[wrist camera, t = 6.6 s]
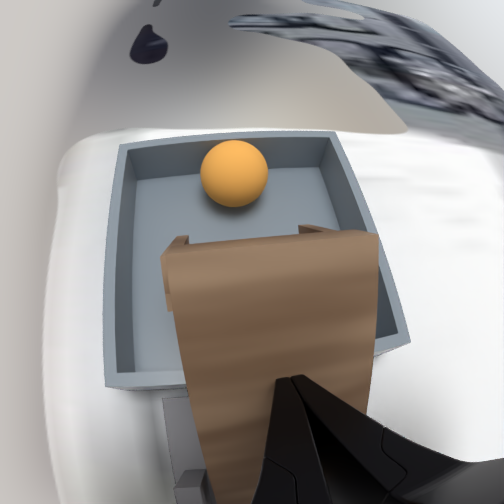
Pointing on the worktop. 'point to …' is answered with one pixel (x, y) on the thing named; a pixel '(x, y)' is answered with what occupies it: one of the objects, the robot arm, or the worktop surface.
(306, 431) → the robot arm
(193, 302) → the brown wooden angled piece
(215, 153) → the ball
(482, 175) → the worktop surface
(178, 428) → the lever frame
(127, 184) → the bin
